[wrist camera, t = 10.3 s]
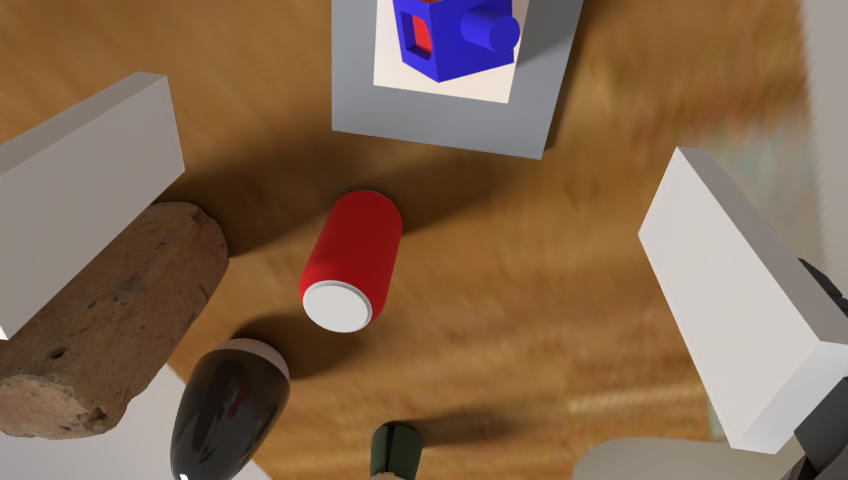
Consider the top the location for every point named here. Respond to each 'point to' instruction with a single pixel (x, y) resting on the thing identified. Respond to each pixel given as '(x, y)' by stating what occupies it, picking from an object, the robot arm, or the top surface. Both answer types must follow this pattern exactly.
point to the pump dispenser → (228, 409)
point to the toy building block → (455, 36)
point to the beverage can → (352, 262)
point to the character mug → (395, 454)
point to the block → (111, 326)
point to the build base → (450, 109)
